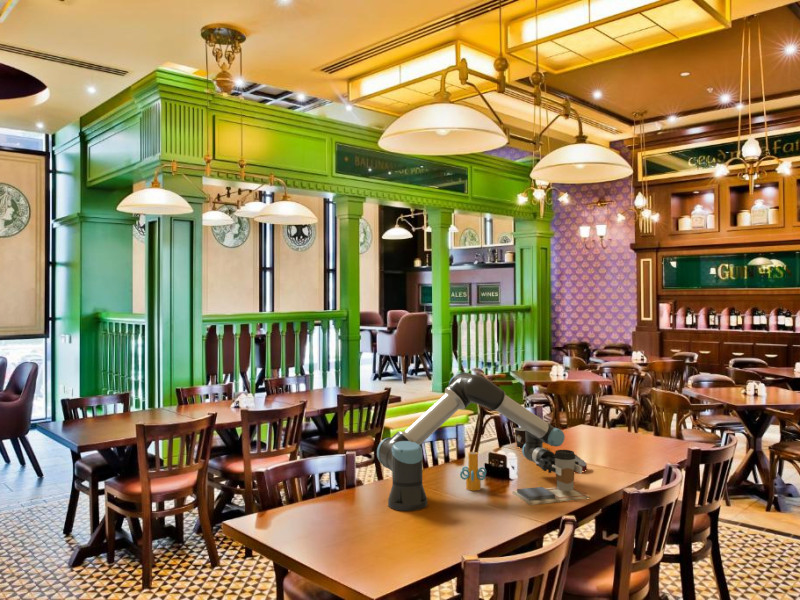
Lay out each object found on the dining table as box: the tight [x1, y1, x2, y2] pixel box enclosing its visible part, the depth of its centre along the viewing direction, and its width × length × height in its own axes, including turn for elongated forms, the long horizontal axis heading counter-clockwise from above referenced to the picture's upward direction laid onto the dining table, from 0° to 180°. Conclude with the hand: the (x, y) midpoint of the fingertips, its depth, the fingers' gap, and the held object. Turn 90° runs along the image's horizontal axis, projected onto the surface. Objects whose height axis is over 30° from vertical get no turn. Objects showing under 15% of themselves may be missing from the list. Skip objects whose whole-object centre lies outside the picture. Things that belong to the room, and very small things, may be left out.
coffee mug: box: [514, 427, 526, 448], centre depth 341 cm, size 12×9×10 cm
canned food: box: [574, 454, 588, 472], centre depth 296 cm, size 11×10×10 cm
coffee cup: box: [554, 449, 576, 491], centre depth 258 cm, size 8×8×15 cm
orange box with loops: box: [459, 451, 487, 492], centre depth 268 cm, size 12×10×15 cm
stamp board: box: [511, 486, 591, 506], centre depth 257 cm, size 26×16×2 cm, turn 104°
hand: (570, 471), depth 254 cm, fingers closed on coffee cup, 8 cm apart
